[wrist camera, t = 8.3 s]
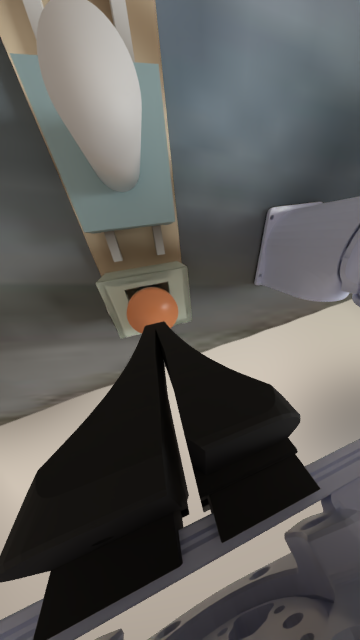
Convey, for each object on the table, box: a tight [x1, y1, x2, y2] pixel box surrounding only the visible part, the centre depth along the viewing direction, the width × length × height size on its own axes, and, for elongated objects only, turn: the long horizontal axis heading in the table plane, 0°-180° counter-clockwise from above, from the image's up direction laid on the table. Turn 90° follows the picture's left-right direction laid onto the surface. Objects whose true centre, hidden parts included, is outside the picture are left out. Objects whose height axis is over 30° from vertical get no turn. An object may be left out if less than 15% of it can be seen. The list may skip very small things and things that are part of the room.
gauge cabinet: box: [96, 261, 192, 339], centre depth 15 cm, size 6×8×5 cm
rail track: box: [0, 0, 182, 300], centre depth 11 cm, size 28×9×3 cm, turn 7°
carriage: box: [10, 0, 175, 234], centre depth 8 cm, size 7×7×8 cm
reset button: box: [127, 284, 178, 333], centre depth 13 cm, size 4×4×4 cm
